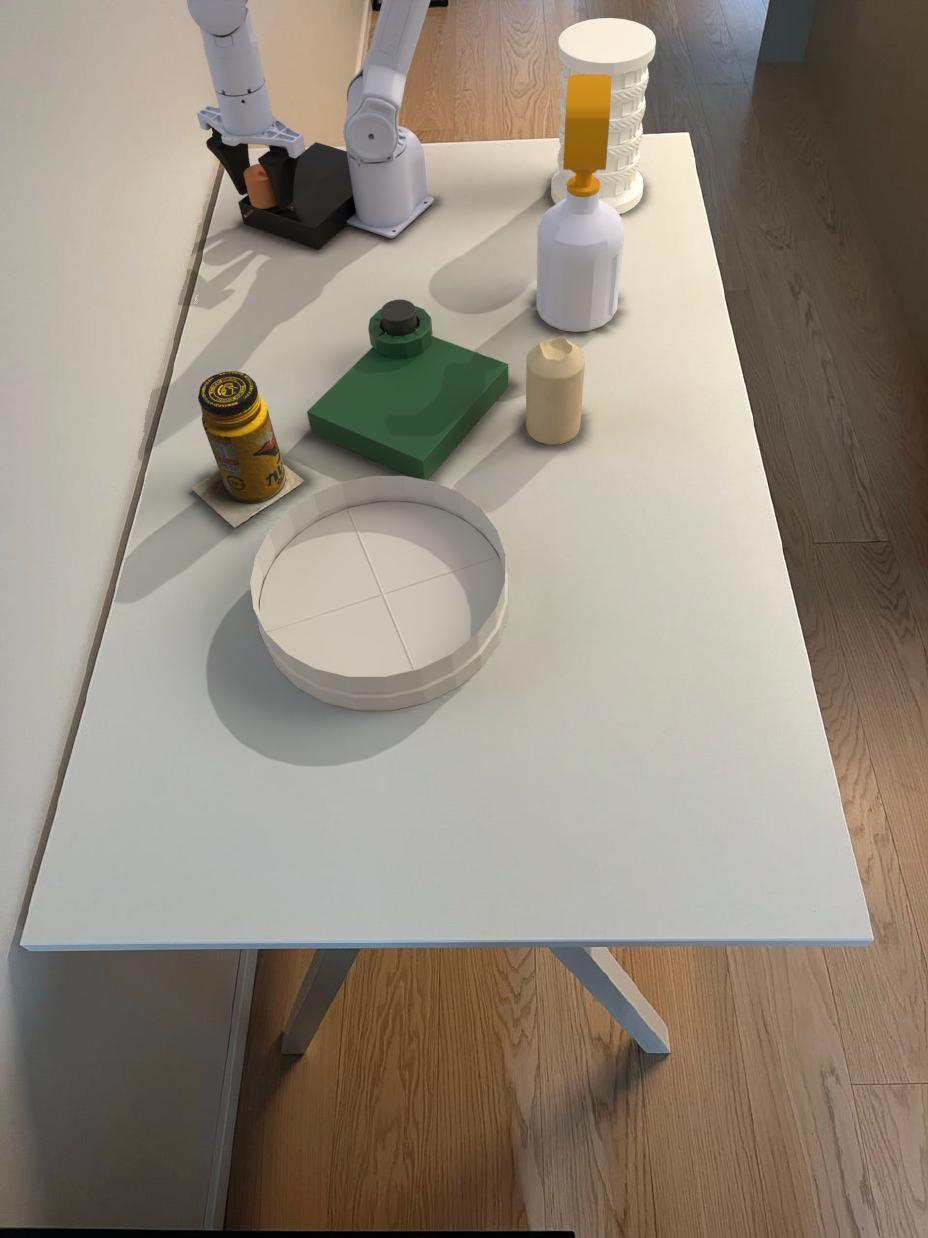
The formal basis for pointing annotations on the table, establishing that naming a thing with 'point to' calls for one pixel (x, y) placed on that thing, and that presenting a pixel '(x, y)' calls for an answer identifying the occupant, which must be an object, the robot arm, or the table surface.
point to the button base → (409, 399)
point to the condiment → (241, 449)
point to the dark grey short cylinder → (399, 318)
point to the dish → (381, 592)
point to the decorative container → (625, 60)
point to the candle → (554, 391)
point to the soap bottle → (581, 221)
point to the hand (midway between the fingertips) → (266, 197)
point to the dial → (259, 187)
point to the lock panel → (310, 200)
